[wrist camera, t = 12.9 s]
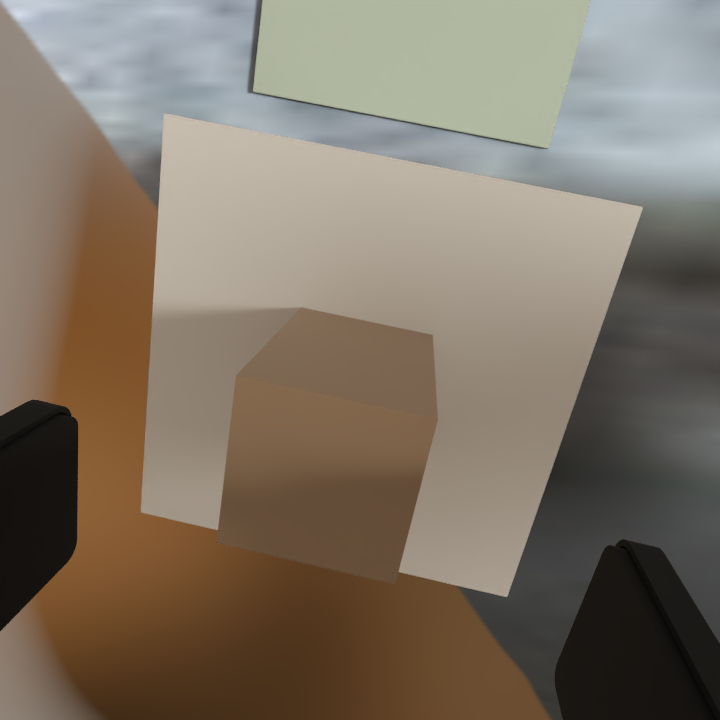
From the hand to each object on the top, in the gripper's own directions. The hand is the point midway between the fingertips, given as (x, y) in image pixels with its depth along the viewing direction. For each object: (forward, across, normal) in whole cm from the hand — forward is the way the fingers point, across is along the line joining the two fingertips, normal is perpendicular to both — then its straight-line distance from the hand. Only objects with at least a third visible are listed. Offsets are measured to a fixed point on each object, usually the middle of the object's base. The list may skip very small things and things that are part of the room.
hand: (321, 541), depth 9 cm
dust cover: (+24, +1, 0) cm, 24 cm away
